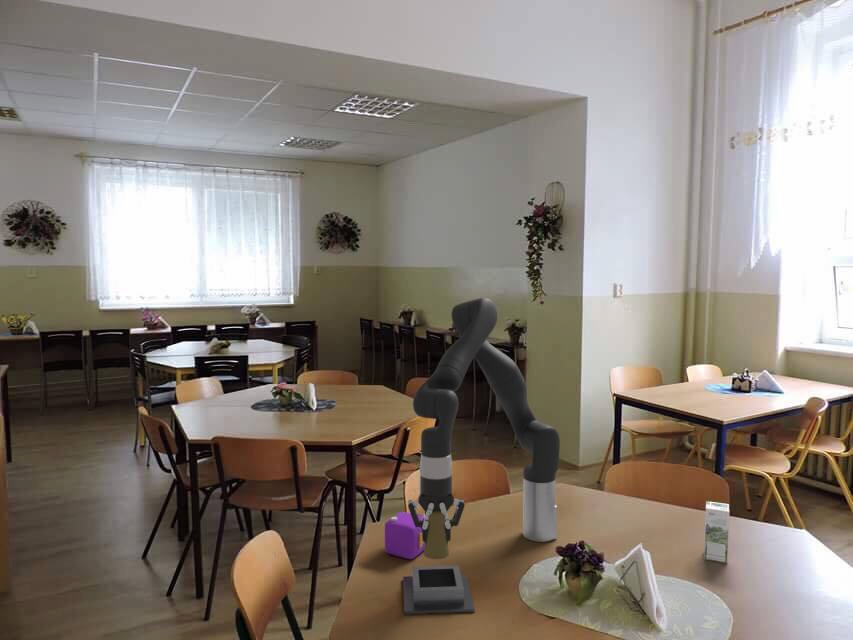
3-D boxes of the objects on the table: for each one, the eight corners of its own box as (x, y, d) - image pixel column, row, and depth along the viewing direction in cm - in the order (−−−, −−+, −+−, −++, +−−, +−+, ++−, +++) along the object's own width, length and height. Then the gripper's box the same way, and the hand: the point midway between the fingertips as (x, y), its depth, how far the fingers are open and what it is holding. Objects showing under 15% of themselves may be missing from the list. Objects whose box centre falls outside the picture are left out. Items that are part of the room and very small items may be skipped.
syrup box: (727, 555, 170) (729, 503, 168) (727, 564, 164) (729, 510, 163) (704, 551, 172) (705, 499, 171) (703, 560, 167) (705, 507, 166)
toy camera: (435, 541, 179) (435, 507, 179) (419, 563, 167) (418, 526, 166) (400, 536, 183) (399, 503, 182) (381, 557, 170) (381, 521, 169)
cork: (449, 548, 152) (449, 504, 151) (448, 560, 146) (448, 514, 145) (425, 547, 153) (425, 503, 152) (422, 558, 147) (422, 513, 146)
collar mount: (466, 577, 159) (466, 561, 158) (474, 612, 143) (474, 594, 142) (403, 579, 158) (402, 563, 157) (404, 614, 142) (404, 596, 141)
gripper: (464, 466, 152) (464, 535, 153) (405, 467, 151) (406, 536, 153) (467, 477, 144) (467, 548, 146) (406, 478, 144) (406, 550, 145)
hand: (436, 542), depth 149 cm, fingers closed on cork, 4 cm apart
